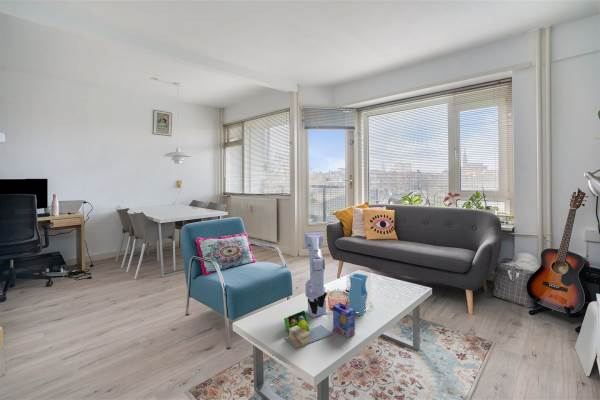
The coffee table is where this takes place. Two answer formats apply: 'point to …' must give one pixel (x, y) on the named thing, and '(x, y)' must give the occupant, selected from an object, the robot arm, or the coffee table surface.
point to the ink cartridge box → (344, 319)
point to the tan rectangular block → (299, 335)
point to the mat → (312, 336)
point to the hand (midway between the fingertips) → (317, 310)
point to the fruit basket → (297, 321)
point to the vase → (358, 293)
